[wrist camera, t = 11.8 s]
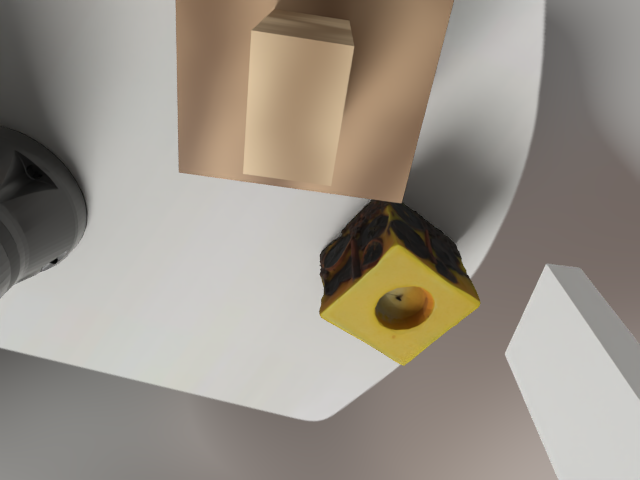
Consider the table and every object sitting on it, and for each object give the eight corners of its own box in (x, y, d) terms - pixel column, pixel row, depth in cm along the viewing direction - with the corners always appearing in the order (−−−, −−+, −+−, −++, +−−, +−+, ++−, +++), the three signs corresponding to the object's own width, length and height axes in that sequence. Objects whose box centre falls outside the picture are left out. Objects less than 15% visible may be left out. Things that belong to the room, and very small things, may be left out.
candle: (317, 253, 49) (314, 316, 41) (383, 184, 45) (394, 239, 36) (390, 302, 52) (400, 370, 44) (458, 242, 48) (484, 305, 40)
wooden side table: (221, 112, 41) (132, 237, 23) (227, -87, 34) (103, -130, 16) (383, 135, 42) (420, 275, 24) (425, -54, 34) (523, -60, 16)
